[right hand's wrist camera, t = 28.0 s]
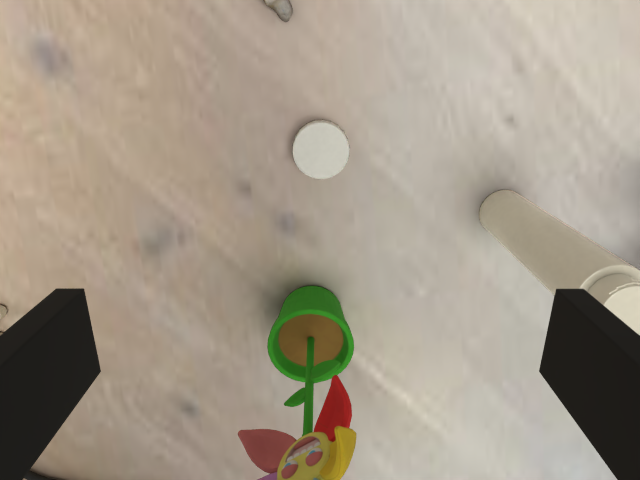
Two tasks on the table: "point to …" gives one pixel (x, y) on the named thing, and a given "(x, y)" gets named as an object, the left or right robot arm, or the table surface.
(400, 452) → the table surface
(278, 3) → the syringe
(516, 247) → the beige long cylinder
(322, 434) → the potted flower
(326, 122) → the lid
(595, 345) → the right robot arm
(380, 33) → the table surface
